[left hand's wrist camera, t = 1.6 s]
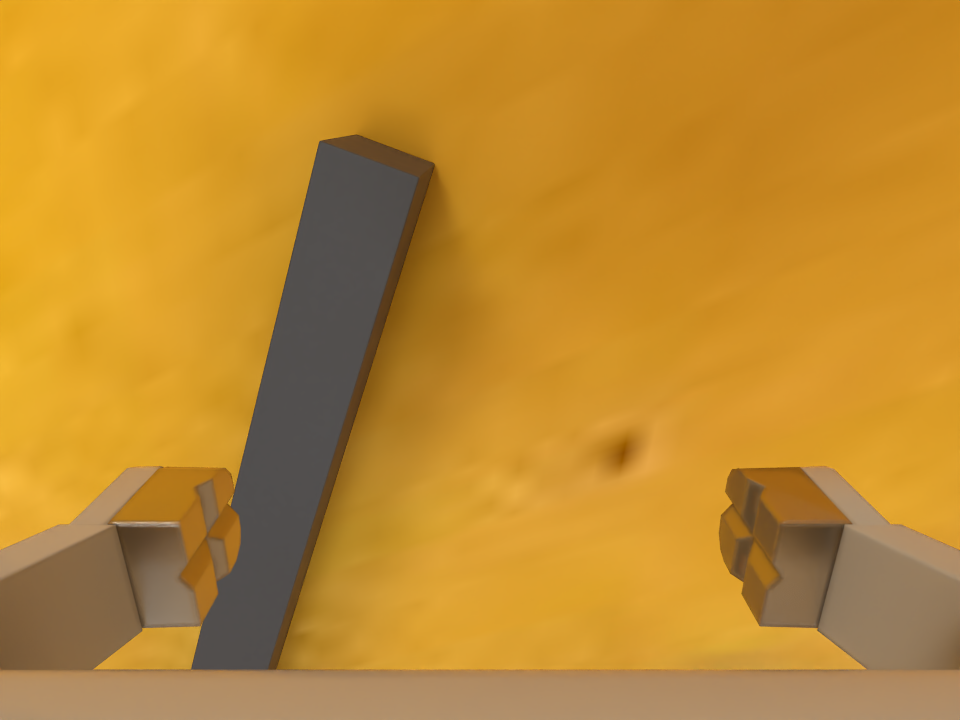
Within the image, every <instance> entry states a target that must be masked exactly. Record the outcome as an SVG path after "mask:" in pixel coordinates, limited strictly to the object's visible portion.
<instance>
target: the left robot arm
mask: <svg viewBox="0 0 960 720" xmlns="http://www.w3.org/2000/svg"><path fill="white" fill-rule="evenodd" d="M234 492H235V490H234V485H233V481H232V476H231V473H230V472H229V471H228V470H227V469H226V468H199V467H162V466H153V467H132V468H127V469H126V470H125V471H124V472H123V473H122V474H121V475H120V476H119V477H118V478H117V479H116V480H115V481H114V482H113V483H112V484H110V485H109V486H108V487H107V488H106V489H105V490H104V491H103V492H102V493H101V494H100V495H99V496H98V497H97V498H96V499H95V500H94V501H93V502H92V503H91V504H90V505H89V506H88V507H87V508H86V509H85V510H84V511H83V512H82V513H81V514H80V515H79V516H78V517H77V518H76V519H74V520H73V521H72V522H71V523H70V524H69V525H57V526H55V527H52V528H50V529H48V530H45V531H43V532H41V533H39V534H36V535H34V536H32V537H29V538H27V539H25V540H23V541H20V542H18V543H16V544H13V545H11V546H9V547H6V548H4V549H2V550H0V720H960V550H958V549H956V548H953V547H951V546H949V545H947V544H944V543H942V542H940V541H937V540H935V539H933V538H931V537H928V536H926V535H924V534H921V533H919V532H917V531H915V530H912V529H910V528H908V527H905V526H903V525H891V524H890V523H889V522H888V521H887V520H886V519H885V518H883V517H882V516H881V515H880V514H879V513H878V512H877V511H876V510H875V509H874V508H873V507H872V506H871V505H870V504H869V503H868V502H867V501H866V500H865V499H864V498H863V497H862V496H861V495H860V494H859V493H858V492H857V491H856V490H855V489H854V488H853V487H852V486H851V485H850V484H849V483H848V482H847V481H846V480H845V479H843V478H842V477H841V476H840V475H839V474H838V473H837V472H836V471H835V470H834V469H832V468H829V467H826V466H816V467H786V468H745V469H732V470H731V472H730V474H729V476H728V479H727V484H726V490H725V492H726V494H727V495H728V497H729V498H730V500H731V501H732V505H731V506H730V507H729V508H728V509H727V510H726V511H725V512H724V513H723V514H722V515H721V520H720V528H719V539H720V550H721V553H722V556H723V560H724V562H725V564H726V566H727V568H728V570H729V572H730V574H732V575H733V576H735V577H737V578H738V579H740V580H741V581H743V582H744V583H743V589H742V596H743V597H744V599H745V601H746V603H747V604H748V606H749V608H750V610H751V612H752V613H753V615H754V617H755V619H756V620H757V622H758V624H759V626H768V627H804V628H818V630H817V631H819V632H820V633H821V634H823V635H824V636H825V637H826V638H828V639H829V640H830V641H832V642H833V643H834V644H835V645H837V646H838V647H839V648H841V649H842V650H843V651H844V652H846V653H847V654H848V655H850V656H851V657H852V658H853V659H855V660H856V661H857V662H859V663H860V664H861V665H862V666H864V667H865V668H866V669H868V670H93V669H94V668H95V667H96V666H98V665H99V664H100V663H102V662H103V661H104V660H106V659H107V658H108V657H109V656H111V655H112V654H113V653H115V652H116V651H117V650H118V649H120V648H121V647H122V646H124V645H125V644H126V643H127V642H129V641H130V640H131V639H133V638H134V637H135V636H136V635H138V634H139V633H140V632H142V628H155V627H190V626H201V624H202V622H203V621H204V619H205V617H206V615H207V613H208V612H209V610H210V608H211V606H212V604H213V603H214V601H215V599H216V597H217V596H218V589H217V583H216V582H217V581H219V580H220V579H222V578H223V577H225V576H227V575H228V574H230V572H231V570H232V568H233V566H234V564H235V562H236V560H237V556H238V552H239V548H240V543H241V526H240V520H239V515H238V514H237V513H236V512H235V511H234V510H233V509H232V508H231V507H230V506H229V505H228V504H227V503H228V501H229V500H230V498H231V497H232V495H233V494H234Z"/></svg>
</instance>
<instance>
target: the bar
mask: <svg viewBox="0 0 960 720" xmlns="http://www.w3.org/2000/svg"><path fill="white" fill-rule="evenodd" d="M434 166H435V164H434V163H431V162H429V161H426V160H423V159H421V158H418V157H415V156H413V155H410V154H407V153H405V152H402V151H399V150H397V149H394V148H391V147H388V146H386V145H383V144H380V143H378V142H375V141H372V140H370V139H367V138H364V137H362V136H359V135H352V136H346V137H340V138H334V139H328V140H322V141H320V142H319V145H318V149H317V153H316V157H315V162H314V166H313V170H312V174H311V178H310V182H309V186H308V190H307V195H306V199H305V203H304V207H303V211H302V215H301V219H300V223H299V227H298V232H297V236H296V240H295V244H294V248H293V252H292V256H291V260H290V265H289V269H288V273H287V277H286V281H285V285H284V289H283V293H282V298H281V302H280V306H279V310H278V314H277V318H276V322H275V326H274V330H273V335H272V339H271V343H270V347H269V351H268V355H267V359H266V363H265V368H264V372H263V376H262V380H261V384H260V388H259V392H258V396H257V400H256V405H255V409H254V413H253V417H252V421H251V425H250V429H249V433H248V438H247V442H246V446H245V450H244V454H243V458H242V462H241V466H240V470H239V475H238V479H237V483H236V487H235V492H234V495H233V499H232V503H231V508H232V509H233V510H234V511H235V512H236V513H237V514H238V515H239V520H240V526H241V543H240V548H239V552H238V556H237V560H236V562H235V564H234V566H233V568H232V570H231V572H230V574H228V575H227V576H225V577H223V578H222V579H220V580H219V581H217V582H216V583H217V589H218V596H217V597H216V599H215V601H214V603H213V604H212V606H211V608H210V610H209V612H208V613H207V615H206V617H205V619H204V621H203V623H202V627H201V631H200V635H199V639H198V643H197V648H196V652H195V656H194V660H193V664H192V668H191V670H276V668H277V664H278V661H279V658H280V655H281V652H282V649H283V645H284V642H285V639H286V636H287V633H288V629H289V626H290V623H291V620H292V617H293V614H294V610H295V607H296V604H297V601H298V598H299V595H300V591H301V588H302V585H303V582H304V579H305V575H306V572H307V569H308V566H309V563H310V560H311V556H312V553H313V550H314V547H315V544H316V540H317V537H318V534H319V531H320V528H321V525H322V521H323V518H324V515H325V512H326V509H327V506H328V502H329V499H330V496H331V493H332V490H333V486H334V483H335V480H336V477H337V474H338V471H339V467H340V464H341V461H342V458H343V455H344V452H345V448H346V445H347V442H348V439H349V436H350V432H351V429H352V426H353V423H354V420H355V417H356V413H357V410H358V407H359V404H360V401H361V397H362V394H363V391H364V388H365V385H366V382H367V378H368V375H369V372H370V369H371V366H372V363H373V359H374V356H375V353H376V350H377V347H378V343H379V340H380V337H381V334H382V331H383V328H384V324H385V321H386V318H387V315H388V312H389V309H390V305H391V302H392V299H393V296H394V293H395V289H396V286H397V283H398V280H399V277H400V274H401V270H402V267H403V264H404V261H405V258H406V255H407V251H408V248H409V245H410V242H411V239H412V235H413V232H414V229H415V226H416V223H417V220H418V216H419V213H420V210H421V207H422V204H423V200H424V197H425V194H426V191H427V188H428V185H429V181H430V178H431V175H432V172H433V169H434Z"/></svg>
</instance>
